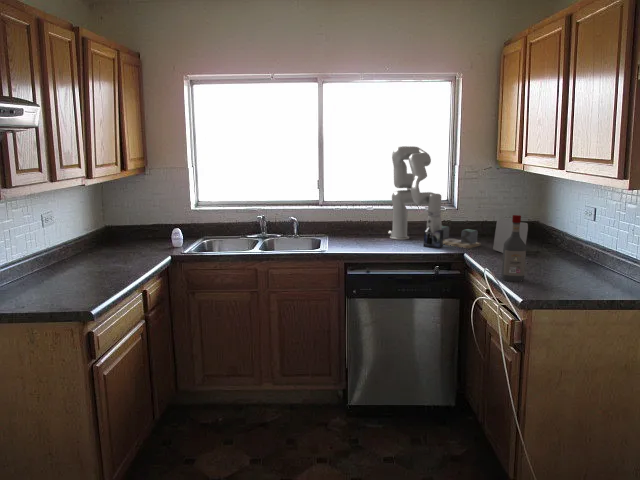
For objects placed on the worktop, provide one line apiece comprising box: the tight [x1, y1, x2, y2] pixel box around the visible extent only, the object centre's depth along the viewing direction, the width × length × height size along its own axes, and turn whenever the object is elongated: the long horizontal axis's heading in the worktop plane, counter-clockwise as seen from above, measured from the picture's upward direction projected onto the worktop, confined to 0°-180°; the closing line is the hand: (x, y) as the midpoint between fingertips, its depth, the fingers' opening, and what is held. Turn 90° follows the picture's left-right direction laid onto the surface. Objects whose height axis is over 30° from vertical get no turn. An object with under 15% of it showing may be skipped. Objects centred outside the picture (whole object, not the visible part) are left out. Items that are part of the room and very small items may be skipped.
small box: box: [423, 228, 444, 249], centre depth 331 cm, size 11×6×10 cm, turn 59°
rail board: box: [442, 225, 481, 249], centre depth 341 cm, size 28×14×10 cm, turn 45°
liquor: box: [501, 214, 527, 282], centre depth 252 cm, size 9×9×30 cm
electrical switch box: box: [492, 218, 529, 254], centre depth 318 cm, size 15×15×20 cm
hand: (433, 242), depth 332 cm, fingers closed on small box, 7 cm apart
